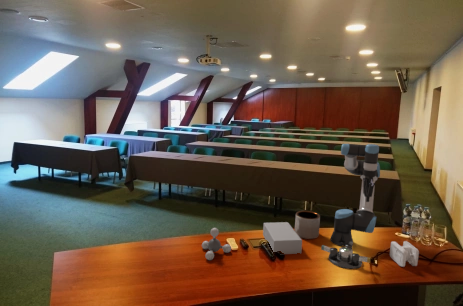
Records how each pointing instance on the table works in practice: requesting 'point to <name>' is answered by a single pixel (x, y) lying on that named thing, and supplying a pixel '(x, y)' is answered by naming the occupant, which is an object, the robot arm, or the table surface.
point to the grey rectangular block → (330, 251)
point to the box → (282, 237)
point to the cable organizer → (404, 253)
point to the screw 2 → (358, 259)
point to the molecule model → (214, 245)
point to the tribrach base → (344, 264)
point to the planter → (307, 224)
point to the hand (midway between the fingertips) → (366, 206)
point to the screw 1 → (349, 245)
